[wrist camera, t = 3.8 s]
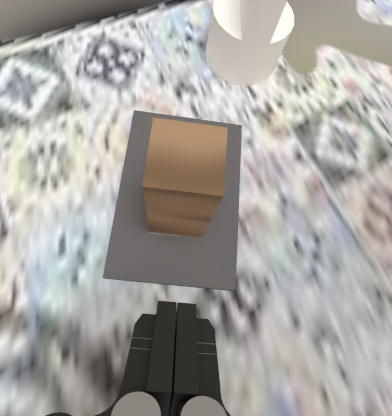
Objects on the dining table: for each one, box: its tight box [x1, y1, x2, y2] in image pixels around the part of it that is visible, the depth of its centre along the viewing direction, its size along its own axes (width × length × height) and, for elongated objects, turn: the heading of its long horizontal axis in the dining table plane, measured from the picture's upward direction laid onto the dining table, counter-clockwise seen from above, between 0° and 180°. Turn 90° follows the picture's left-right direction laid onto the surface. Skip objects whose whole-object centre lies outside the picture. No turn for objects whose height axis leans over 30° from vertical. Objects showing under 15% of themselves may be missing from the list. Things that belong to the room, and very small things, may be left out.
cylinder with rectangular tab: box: [205, 0, 294, 86], centre depth 32 cm, size 9×9×12 cm
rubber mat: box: [103, 110, 242, 291], centre depth 30 cm, size 18×12×1 cm, turn 175°
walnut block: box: [142, 117, 228, 238], centre depth 24 cm, size 5×5×11 cm
